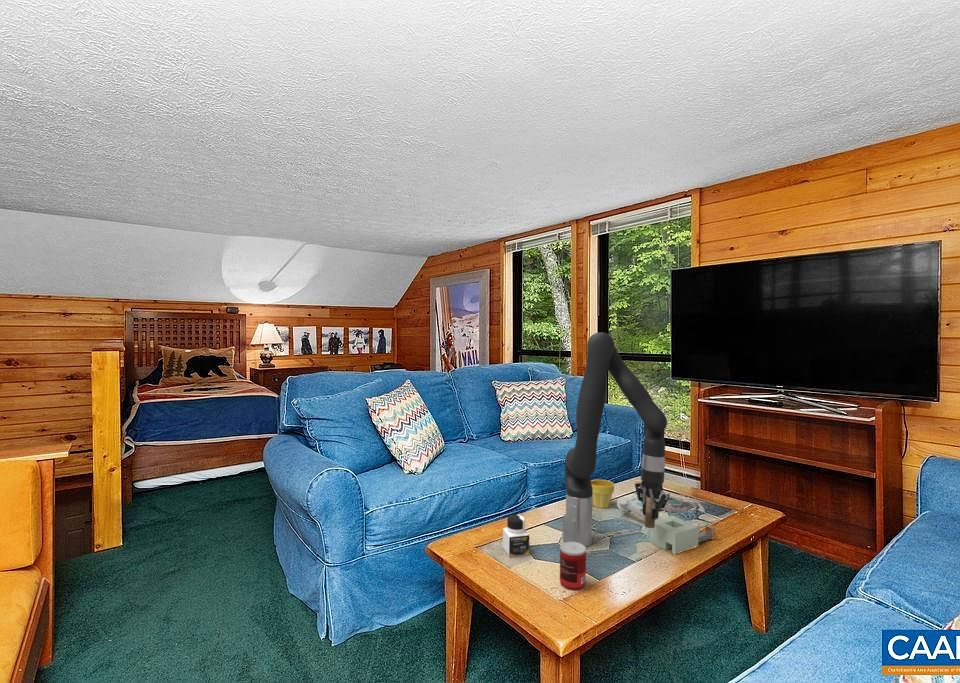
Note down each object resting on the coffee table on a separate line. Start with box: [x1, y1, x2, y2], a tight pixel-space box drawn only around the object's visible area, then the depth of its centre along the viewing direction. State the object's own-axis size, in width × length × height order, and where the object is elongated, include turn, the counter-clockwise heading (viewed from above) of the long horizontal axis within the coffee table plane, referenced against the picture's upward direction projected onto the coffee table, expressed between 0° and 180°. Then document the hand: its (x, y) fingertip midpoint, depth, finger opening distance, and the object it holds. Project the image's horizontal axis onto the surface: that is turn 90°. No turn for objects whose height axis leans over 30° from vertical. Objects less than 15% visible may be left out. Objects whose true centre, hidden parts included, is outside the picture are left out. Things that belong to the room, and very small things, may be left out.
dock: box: [648, 515, 700, 554], centre depth 172 cm, size 12×11×7 cm
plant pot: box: [591, 479, 615, 509], centre depth 209 cm, size 10×10×10 cm
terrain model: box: [659, 496, 699, 514], centre depth 208 cm, size 20×15×3 cm
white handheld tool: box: [616, 496, 664, 520], centre depth 190 cm, size 5×7×25 cm
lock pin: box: [698, 524, 716, 543], centre depth 175 cm, size 13×2×4 cm, turn 119°
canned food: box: [559, 542, 587, 591], centre depth 145 cm, size 8×8×11 cm
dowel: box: [644, 496, 656, 529], centre depth 167 cm, size 3×3×10 cm
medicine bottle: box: [502, 514, 530, 558], centre depth 165 cm, size 7×7×12 cm
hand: (650, 516), depth 167 cm, fingers closed on dowel, 3 cm apart
